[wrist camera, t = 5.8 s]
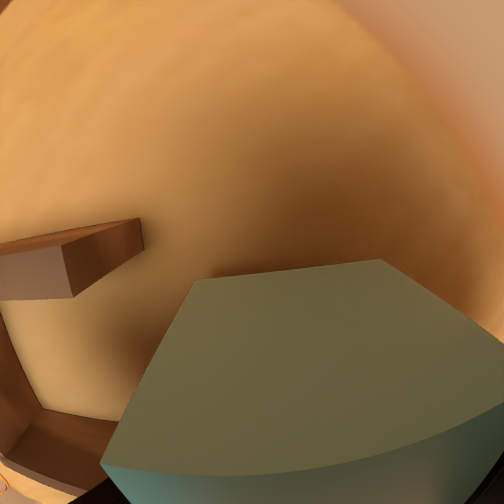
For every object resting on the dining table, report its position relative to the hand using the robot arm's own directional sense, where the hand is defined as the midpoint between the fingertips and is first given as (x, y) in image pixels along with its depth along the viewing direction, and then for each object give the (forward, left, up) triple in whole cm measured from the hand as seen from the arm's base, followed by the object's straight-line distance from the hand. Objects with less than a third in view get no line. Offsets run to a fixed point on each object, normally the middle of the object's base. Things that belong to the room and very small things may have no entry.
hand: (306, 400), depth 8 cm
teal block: (0, 0, -2) cm, 2 cm away
